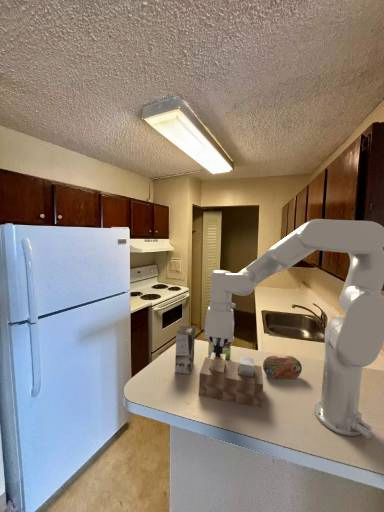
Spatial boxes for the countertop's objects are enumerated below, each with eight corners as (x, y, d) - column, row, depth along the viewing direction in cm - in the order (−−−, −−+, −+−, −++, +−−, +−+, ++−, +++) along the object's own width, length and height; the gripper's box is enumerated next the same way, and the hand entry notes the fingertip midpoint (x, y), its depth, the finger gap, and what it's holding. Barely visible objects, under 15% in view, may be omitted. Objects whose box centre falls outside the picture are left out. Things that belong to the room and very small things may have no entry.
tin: (264, 379, 89) (265, 358, 89) (261, 374, 93) (262, 354, 92) (301, 379, 90) (303, 359, 89) (297, 374, 93) (299, 354, 93)
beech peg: (224, 374, 84) (225, 354, 84) (223, 382, 80) (224, 361, 79) (211, 371, 86) (212, 352, 85) (209, 379, 81) (210, 358, 80)
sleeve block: (260, 386, 84) (261, 366, 84) (261, 407, 74) (263, 384, 73) (204, 376, 90) (205, 357, 89) (198, 395, 79) (199, 373, 78)
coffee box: (190, 374, 91) (191, 335, 89) (174, 372, 92) (175, 333, 91) (194, 362, 99) (195, 326, 98) (180, 360, 101) (181, 325, 99)
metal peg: (252, 379, 82) (253, 358, 81) (252, 387, 77) (253, 366, 77) (238, 376, 83) (239, 356, 83) (237, 385, 78) (238, 363, 78)
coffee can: (235, 359, 103) (236, 329, 102) (220, 368, 96) (221, 335, 95) (217, 351, 110) (219, 322, 109) (202, 358, 103) (204, 328, 102)
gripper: (242, 304, 82) (239, 353, 84) (201, 300, 86) (199, 347, 87) (241, 310, 75) (238, 364, 77) (197, 306, 79) (195, 356, 80)
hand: (217, 355), depth 82 cm, fingers closed
